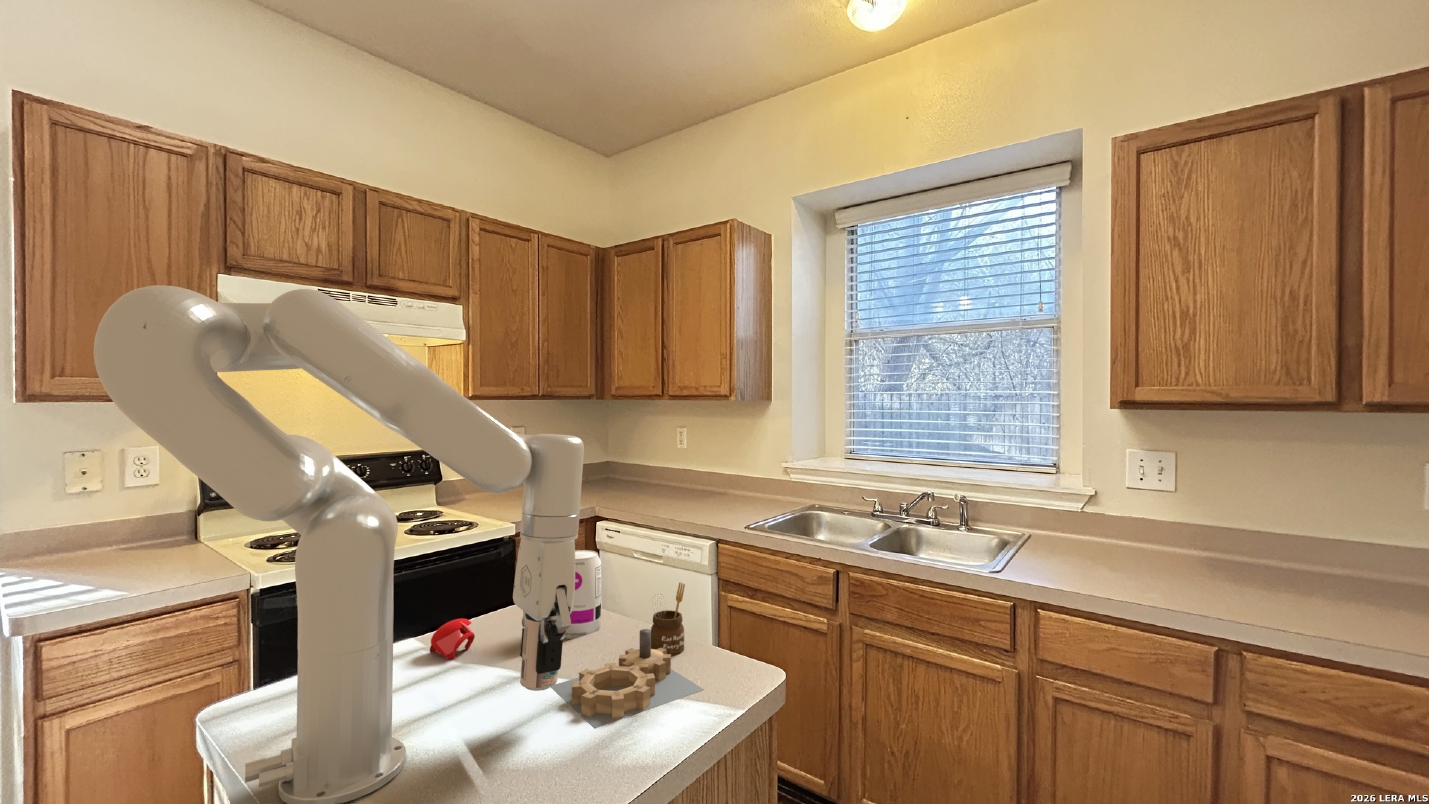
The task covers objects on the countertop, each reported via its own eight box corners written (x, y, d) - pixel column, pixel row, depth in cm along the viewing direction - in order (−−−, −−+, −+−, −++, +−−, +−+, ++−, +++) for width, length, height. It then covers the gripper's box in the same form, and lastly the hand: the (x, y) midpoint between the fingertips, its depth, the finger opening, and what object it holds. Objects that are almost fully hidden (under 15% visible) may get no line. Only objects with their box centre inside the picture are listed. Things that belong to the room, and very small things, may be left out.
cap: (486, 629, 107) (463, 608, 109) (472, 629, 102) (447, 608, 103) (456, 668, 105) (432, 647, 107) (440, 671, 100) (415, 649, 101)
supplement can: (578, 644, 109) (579, 561, 109) (547, 634, 113) (548, 555, 114) (609, 630, 116) (610, 553, 116) (579, 622, 120) (579, 547, 120)
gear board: (594, 735, 78) (594, 728, 78) (549, 692, 90) (549, 685, 90) (704, 696, 89) (704, 689, 89) (651, 662, 101) (651, 656, 101)
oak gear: (595, 727, 78) (595, 707, 79) (559, 693, 88) (559, 676, 88) (669, 701, 86) (669, 683, 86) (628, 672, 95) (628, 656, 95)
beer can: (546, 695, 76) (553, 600, 77) (512, 689, 77) (519, 596, 78) (563, 680, 81) (569, 591, 81) (531, 675, 82) (537, 587, 82)
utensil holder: (643, 654, 104) (643, 585, 105) (671, 645, 109) (672, 579, 109) (663, 665, 100) (664, 593, 100) (692, 655, 104) (693, 586, 104)
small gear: (642, 688, 89) (642, 645, 89) (608, 672, 95) (608, 631, 95) (681, 671, 95) (681, 630, 95) (647, 656, 101) (647, 618, 101)
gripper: (501, 517, 84) (491, 647, 84) (547, 540, 71) (536, 695, 70) (551, 515, 89) (542, 638, 88) (604, 536, 76) (594, 681, 75)
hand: (540, 662), depth 79 cm, fingers closed on beer can, 4 cm apart
